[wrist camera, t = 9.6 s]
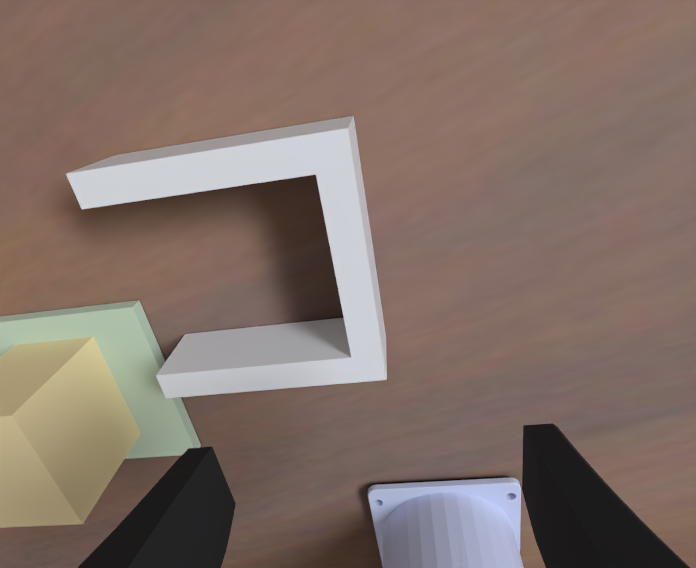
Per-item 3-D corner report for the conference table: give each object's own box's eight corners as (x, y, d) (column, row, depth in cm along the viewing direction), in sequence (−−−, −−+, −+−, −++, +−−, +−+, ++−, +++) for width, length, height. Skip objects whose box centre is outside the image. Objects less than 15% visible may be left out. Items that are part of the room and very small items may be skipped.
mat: (201, 445, 24) (197, 454, 23) (50, 455, 25) (43, 464, 24) (139, 300, 20) (132, 306, 19) (-36, 320, 21) (-47, 327, 20)
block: (140, 433, 23) (83, 524, 18) (70, 438, 23) (-3, 527, 19) (93, 336, 20) (11, 415, 16) (15, 344, 21) (-85, 423, 16)
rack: (385, 336, 20) (386, 379, 17) (193, 355, 21) (165, 398, 18) (353, 115, 16) (347, 127, 13) (115, 155, 17) (66, 173, 14)
